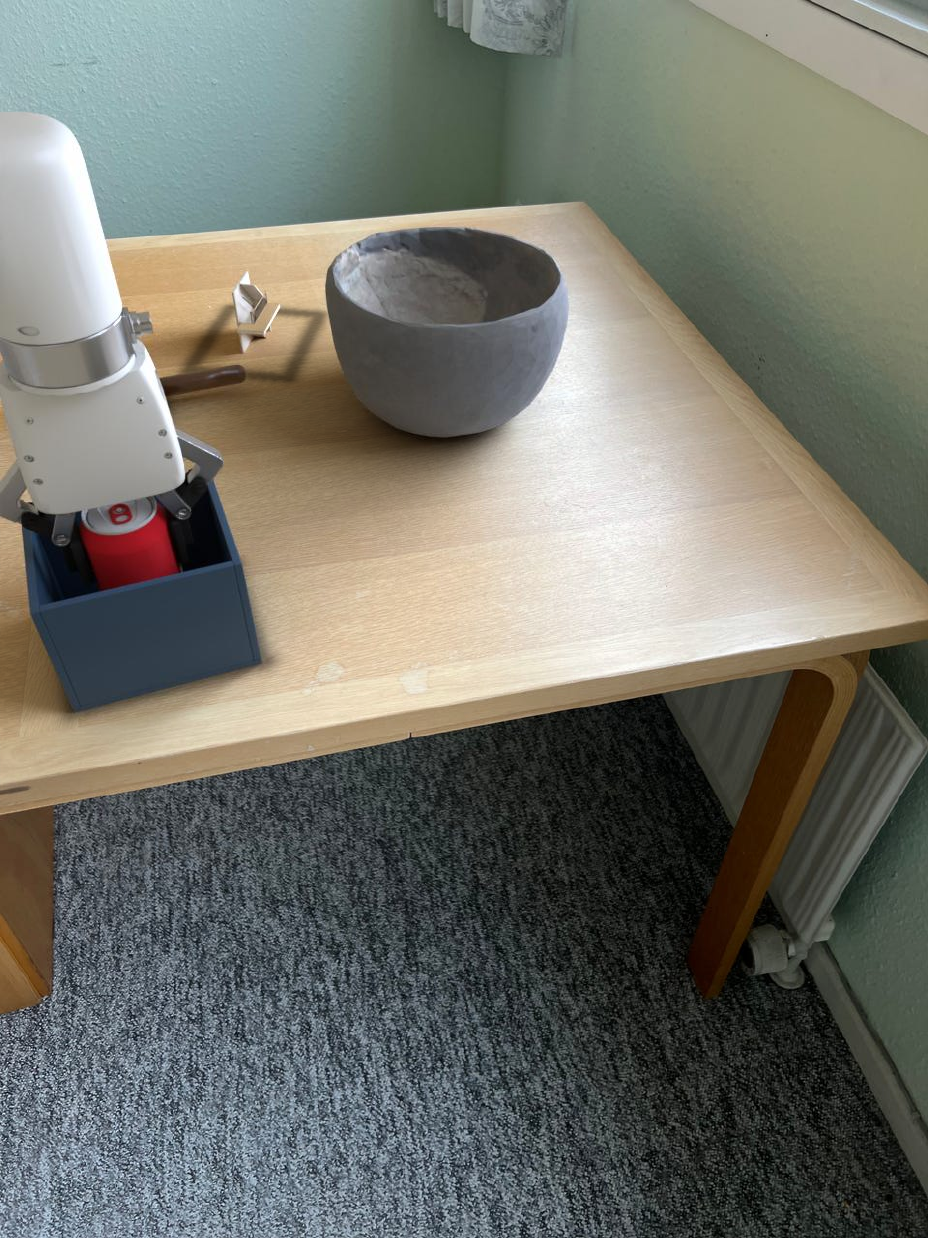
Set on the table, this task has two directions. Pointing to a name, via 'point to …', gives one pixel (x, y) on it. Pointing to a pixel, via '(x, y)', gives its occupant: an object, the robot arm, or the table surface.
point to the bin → (144, 617)
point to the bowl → (446, 326)
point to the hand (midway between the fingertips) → (135, 561)
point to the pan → (203, 380)
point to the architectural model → (252, 311)
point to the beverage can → (128, 543)
